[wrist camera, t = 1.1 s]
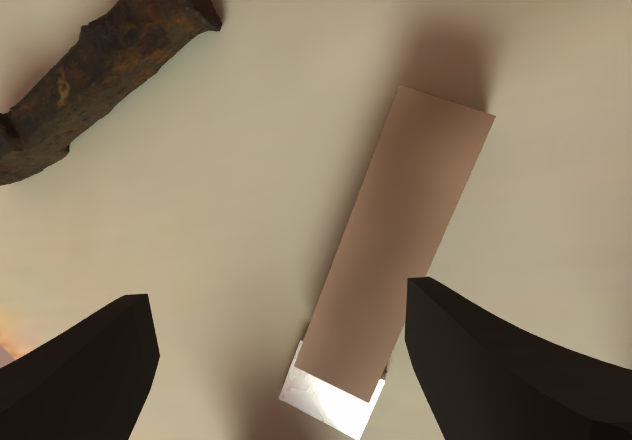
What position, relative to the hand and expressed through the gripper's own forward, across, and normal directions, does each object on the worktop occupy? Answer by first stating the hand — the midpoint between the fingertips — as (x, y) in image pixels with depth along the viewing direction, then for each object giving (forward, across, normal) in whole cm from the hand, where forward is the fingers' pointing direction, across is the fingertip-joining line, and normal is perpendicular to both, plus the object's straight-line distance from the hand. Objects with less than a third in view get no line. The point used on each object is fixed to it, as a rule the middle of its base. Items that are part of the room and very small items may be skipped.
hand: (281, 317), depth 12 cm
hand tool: (+17, +11, -5) cm, 21 cm away
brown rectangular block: (+10, -5, +4) cm, 11 cm away
